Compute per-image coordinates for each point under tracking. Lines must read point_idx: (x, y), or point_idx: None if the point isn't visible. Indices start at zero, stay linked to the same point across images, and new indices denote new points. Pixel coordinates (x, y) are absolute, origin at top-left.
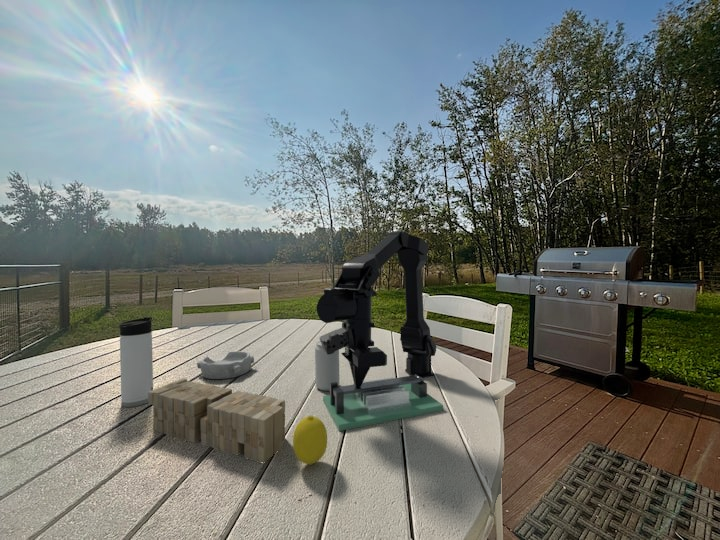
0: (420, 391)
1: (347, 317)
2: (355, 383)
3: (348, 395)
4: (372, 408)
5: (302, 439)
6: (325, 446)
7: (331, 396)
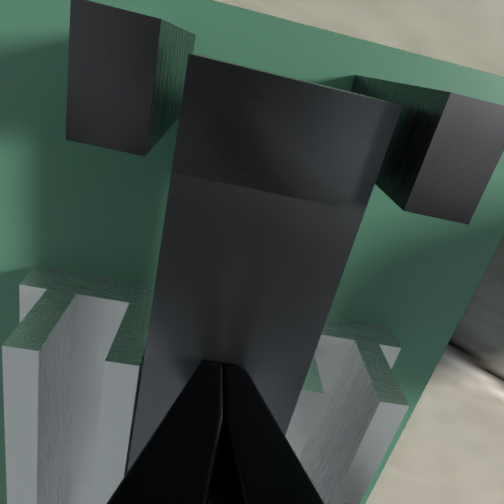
0: None
1: None
2: (189, 390)
3: (412, 294)
4: (23, 317)
5: None
6: None
7: (380, 84)
